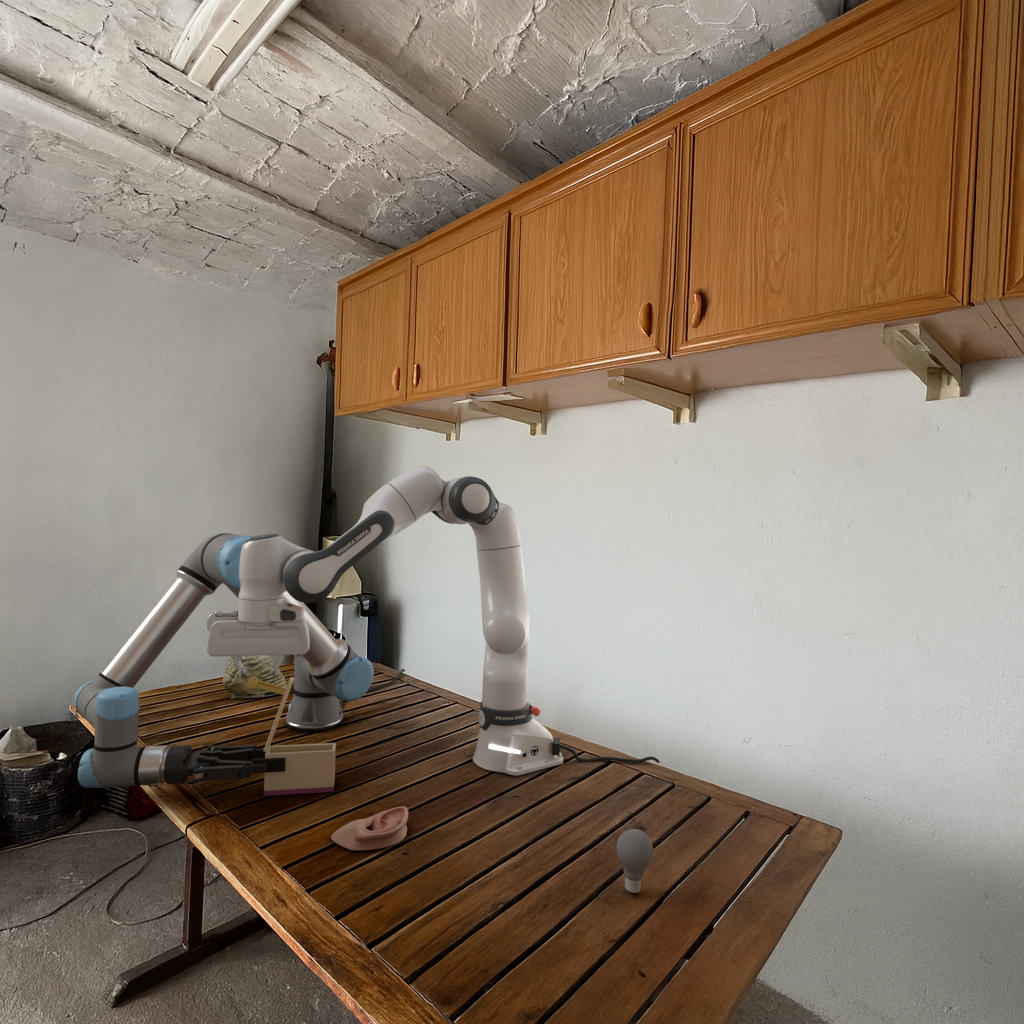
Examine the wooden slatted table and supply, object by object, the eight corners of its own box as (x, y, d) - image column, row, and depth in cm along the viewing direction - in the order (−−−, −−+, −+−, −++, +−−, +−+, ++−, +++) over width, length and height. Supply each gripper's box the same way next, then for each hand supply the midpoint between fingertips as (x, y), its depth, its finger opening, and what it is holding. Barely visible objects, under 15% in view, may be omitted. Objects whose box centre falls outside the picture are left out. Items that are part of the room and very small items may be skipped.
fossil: (218, 695, 195) (220, 647, 195) (278, 685, 208) (279, 640, 207) (228, 703, 189) (230, 653, 188) (289, 692, 201) (290, 645, 201)
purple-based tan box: (334, 782, 141) (335, 742, 141) (333, 791, 136) (334, 750, 136) (266, 786, 138) (268, 745, 137) (263, 795, 133) (265, 754, 133)
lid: (294, 677, 138) (254, 666, 136) (292, 683, 134) (251, 672, 132) (270, 744, 137) (229, 733, 136) (267, 752, 133) (225, 742, 131)
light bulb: (610, 879, 108) (613, 822, 108) (644, 879, 109) (647, 822, 109) (619, 902, 102) (622, 840, 102) (655, 901, 103) (658, 840, 103)
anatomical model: (323, 824, 115) (352, 795, 126) (322, 845, 115) (351, 815, 126) (392, 835, 112) (415, 805, 123) (391, 857, 112) (414, 825, 123)
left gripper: (179, 765, 139) (290, 760, 145) (153, 803, 122) (280, 795, 128) (180, 731, 139) (291, 727, 145) (154, 764, 122) (282, 758, 128)
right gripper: (203, 613, 129) (202, 681, 129) (308, 613, 133) (307, 678, 134) (210, 608, 135) (209, 673, 135) (311, 607, 139) (309, 670, 140)
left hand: (286, 759), depth 136 cm, fingers closed on purple-based tan box, 4 cm apart
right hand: (258, 675), depth 134 cm, fingers open, 5 cm apart
